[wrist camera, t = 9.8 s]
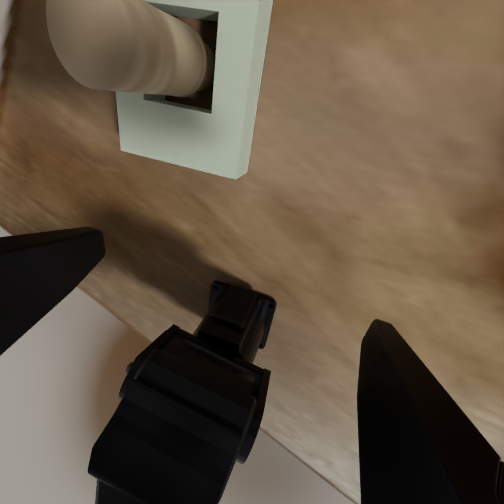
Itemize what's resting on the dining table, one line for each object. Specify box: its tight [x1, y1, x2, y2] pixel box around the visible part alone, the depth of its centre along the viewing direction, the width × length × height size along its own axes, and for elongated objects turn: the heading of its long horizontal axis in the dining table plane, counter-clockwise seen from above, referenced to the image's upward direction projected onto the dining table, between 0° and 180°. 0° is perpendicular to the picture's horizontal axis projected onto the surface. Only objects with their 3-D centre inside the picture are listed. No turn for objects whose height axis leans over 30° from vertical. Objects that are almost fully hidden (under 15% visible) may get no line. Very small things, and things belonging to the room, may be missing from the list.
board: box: [116, 0, 273, 180], centre depth 16 cm, size 12×9×2 cm
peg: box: [46, 0, 216, 97], centre depth 14 cm, size 4×4×9 cm
